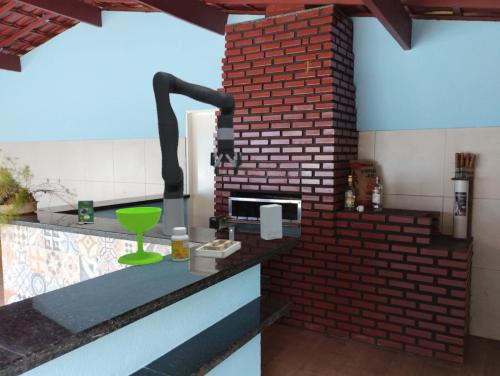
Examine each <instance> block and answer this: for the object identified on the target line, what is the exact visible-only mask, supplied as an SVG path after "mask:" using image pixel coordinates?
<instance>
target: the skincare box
mask: <svg viewBox="0 0 500 376" xmlns="http://www.w3.org/2000/svg"><path fill="white" fill-rule="evenodd" d="M282 209H283V206H282V205H281V204H277V203H275V204H267V205H266V204H264V205H260V206H259V212H260V213H259V217H260V221H259V222H260V238H261V239H263V240H266V241H268V240H269V241H271V240H275V239H276V240H277V239H283V216H282V215H283V214H282V213H283V211H282Z"/></svg>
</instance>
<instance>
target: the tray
mask: <svg viewBox="0 0 500 376" xmlns="http://www.w3.org/2000/svg"><path fill="white" fill-rule="evenodd" d="M215 240H216V239H214V240H213V241H215ZM209 243H210V242H208V243H206V244H204V245H201V246H200V247H198V248H195V249H194V257H199V258H209V259H210V258H211V259H225V258H227V257H229V256H231V255H232V254H233V253H236V251H239V250H240V249H242V241H235V240H234V241H233V245H232V246H231V247H229V248H227V249H225V250H224V251H214V250H204V246H205V245H207V244H209Z"/></svg>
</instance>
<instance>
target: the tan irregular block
mask: <svg viewBox="0 0 500 376" xmlns="http://www.w3.org/2000/svg"><path fill="white" fill-rule="evenodd" d="M214 240H215V241H214ZM214 240H213V239H212V240H211V241H210V242H208V243H209V244H208V243H206V244H207V245H206V244H204V245H205V246H204V245H203V246H204V250H214V251H224V250H225V249H227V248H229V247H231V246H232V245H233V240H229V239H214Z"/></svg>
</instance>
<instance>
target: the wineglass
mask: <svg viewBox="0 0 500 376" xmlns="http://www.w3.org/2000/svg"><path fill="white" fill-rule="evenodd" d="M162 210H163V209H162V208H161V207H155V206H154V207H153V206H152V207H150V206H149V207H148V206H147V207H145V206H143V207H141V206H140V207H128V208H119V209H116V210H115V215H116V218H117V221H118V223H119V224H120V225H121V226H122V227H123V228H125V229H126V230H128V231H130V232H133V233H136V236H137V237H136V239H137V242H136V243H137V250H136V251H135V252H131V253H126V254H123V255H122V256H120V257H119V258H118V259H117V263H118V264H121V265H125V266H142V265H150V264H155V263H158V262H161V261H162V260H163V259H164V256H163V255H162V254H161V253H159V252H156V251H146V250H144V240H143V239H144V238H143V237H144V235H143V233H144V232H148V231H150V230H152V229H153V228H154V227H155V226H156V225H157V224H158V222H159V221H160V219H161V217H162Z"/></svg>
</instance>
